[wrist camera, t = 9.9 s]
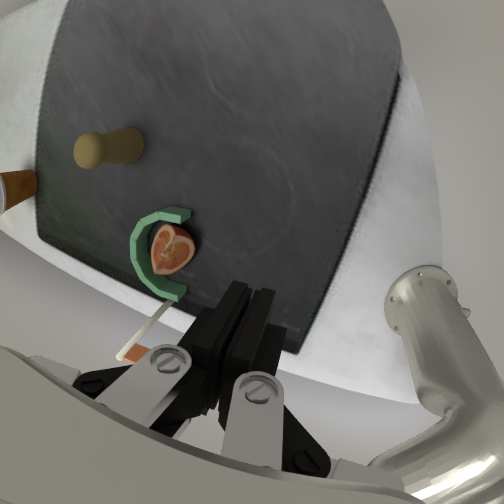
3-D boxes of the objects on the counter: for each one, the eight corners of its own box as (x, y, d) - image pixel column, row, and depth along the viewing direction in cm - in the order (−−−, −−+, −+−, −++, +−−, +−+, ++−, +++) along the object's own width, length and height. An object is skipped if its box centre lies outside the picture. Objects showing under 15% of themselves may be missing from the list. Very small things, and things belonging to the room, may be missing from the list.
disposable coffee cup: (25, 156, 47) (-15, 166, 37) (44, 172, 47) (0, 184, 36) (20, 192, 52) (-17, 205, 41) (38, 209, 51) (-2, 226, 41)
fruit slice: (182, 273, 47) (168, 287, 42) (152, 248, 47) (136, 260, 42) (207, 236, 43) (193, 248, 39) (173, 210, 43) (157, 218, 39)
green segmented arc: (210, 213, 42) (141, 262, 25) (203, 303, 48) (151, 375, 32) (142, 200, 44) (60, 236, 27) (143, 285, 50) (80, 340, 34)
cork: (144, 125, 39) (96, 126, 29) (144, 163, 41) (97, 173, 31) (115, 129, 40) (67, 132, 30) (116, 164, 42) (68, 175, 33)
